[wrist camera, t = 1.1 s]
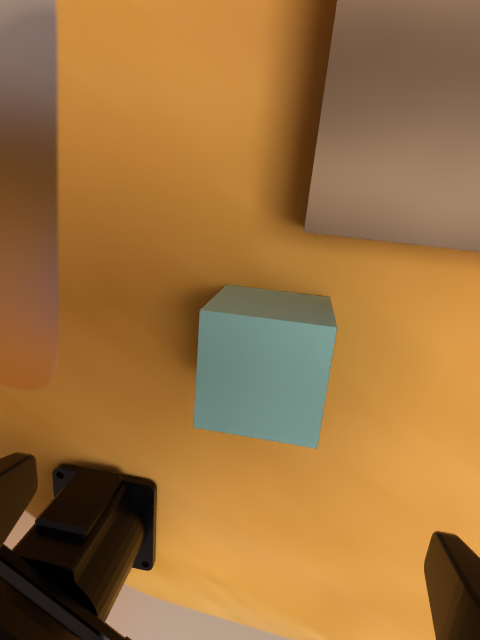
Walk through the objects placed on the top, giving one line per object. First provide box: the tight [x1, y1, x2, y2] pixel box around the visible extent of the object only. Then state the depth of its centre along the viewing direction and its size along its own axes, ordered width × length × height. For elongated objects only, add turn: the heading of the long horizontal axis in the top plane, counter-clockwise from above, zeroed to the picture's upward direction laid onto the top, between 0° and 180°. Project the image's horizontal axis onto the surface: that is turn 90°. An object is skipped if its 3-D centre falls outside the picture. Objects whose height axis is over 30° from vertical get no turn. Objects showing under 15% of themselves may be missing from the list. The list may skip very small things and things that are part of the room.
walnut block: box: [304, 0, 480, 252], centre depth 14 cm, size 11×10×4 cm
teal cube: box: [194, 285, 337, 449], centre depth 17 cm, size 5×5×5 cm
